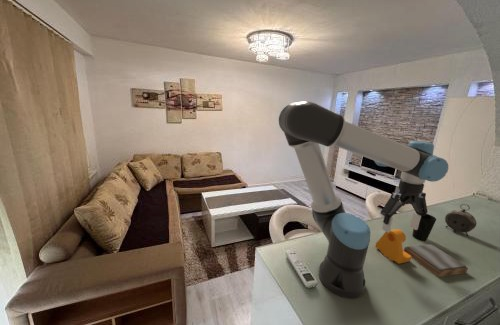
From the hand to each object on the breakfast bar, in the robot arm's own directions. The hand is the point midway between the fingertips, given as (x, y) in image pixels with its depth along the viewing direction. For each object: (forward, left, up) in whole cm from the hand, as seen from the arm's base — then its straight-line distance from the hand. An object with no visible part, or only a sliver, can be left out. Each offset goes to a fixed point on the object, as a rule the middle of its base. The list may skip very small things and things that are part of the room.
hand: (399, 229), depth 84 cm
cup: (+25, +9, -13) cm, 29 cm away
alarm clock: (+51, +11, -13) cm, 53 cm away
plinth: (+14, -6, -12) cm, 19 cm away
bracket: (0, 0, -13) cm, 13 cm away
